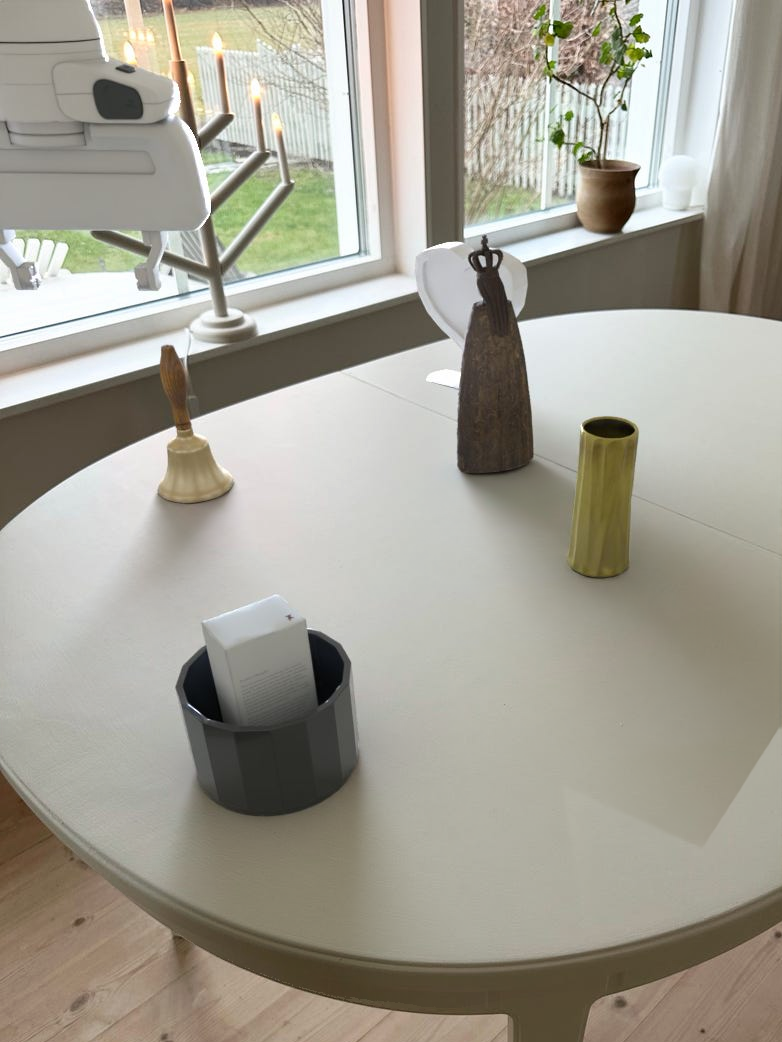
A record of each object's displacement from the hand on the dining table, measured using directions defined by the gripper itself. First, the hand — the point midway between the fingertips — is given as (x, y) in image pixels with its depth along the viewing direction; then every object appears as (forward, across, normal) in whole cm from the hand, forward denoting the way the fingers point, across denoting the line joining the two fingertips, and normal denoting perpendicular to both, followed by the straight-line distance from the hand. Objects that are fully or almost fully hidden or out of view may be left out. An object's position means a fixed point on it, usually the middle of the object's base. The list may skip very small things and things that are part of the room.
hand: (89, 288), depth 75 cm
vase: (+27, +43, +3) cm, 51 cm away
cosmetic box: (+27, +15, -24) cm, 40 cm away
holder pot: (+27, +15, -25) cm, 40 cm away
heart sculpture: (+27, +31, +51) cm, 65 cm away
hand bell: (+28, 0, +20) cm, 34 cm away
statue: (+27, +34, +26) cm, 50 cm away
